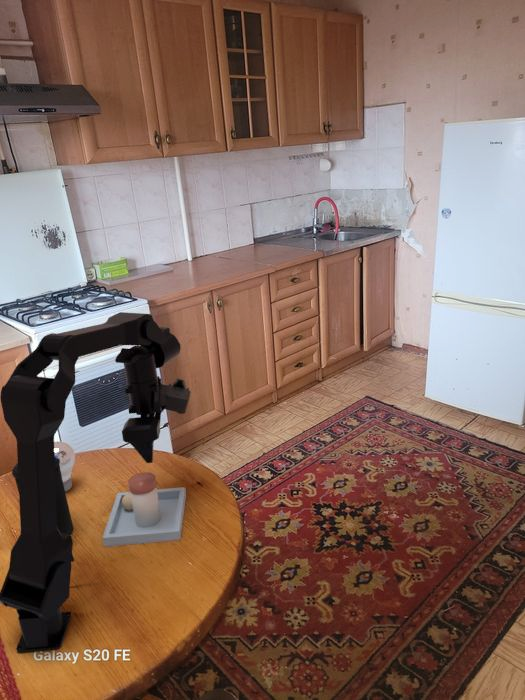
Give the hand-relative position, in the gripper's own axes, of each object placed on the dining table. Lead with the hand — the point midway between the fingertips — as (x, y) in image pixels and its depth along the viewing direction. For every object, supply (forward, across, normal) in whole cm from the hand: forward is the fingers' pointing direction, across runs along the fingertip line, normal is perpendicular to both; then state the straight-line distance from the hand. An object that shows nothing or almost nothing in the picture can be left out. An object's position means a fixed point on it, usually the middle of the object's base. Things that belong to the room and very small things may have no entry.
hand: (153, 450), depth 106 cm
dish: (+13, -5, +2) cm, 14 cm away
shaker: (+12, -5, +2) cm, 14 cm away
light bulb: (+13, +8, +22) cm, 27 cm away
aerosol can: (+13, -7, +20) cm, 25 cm away
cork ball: (+12, -1, +6) cm, 14 cm away
